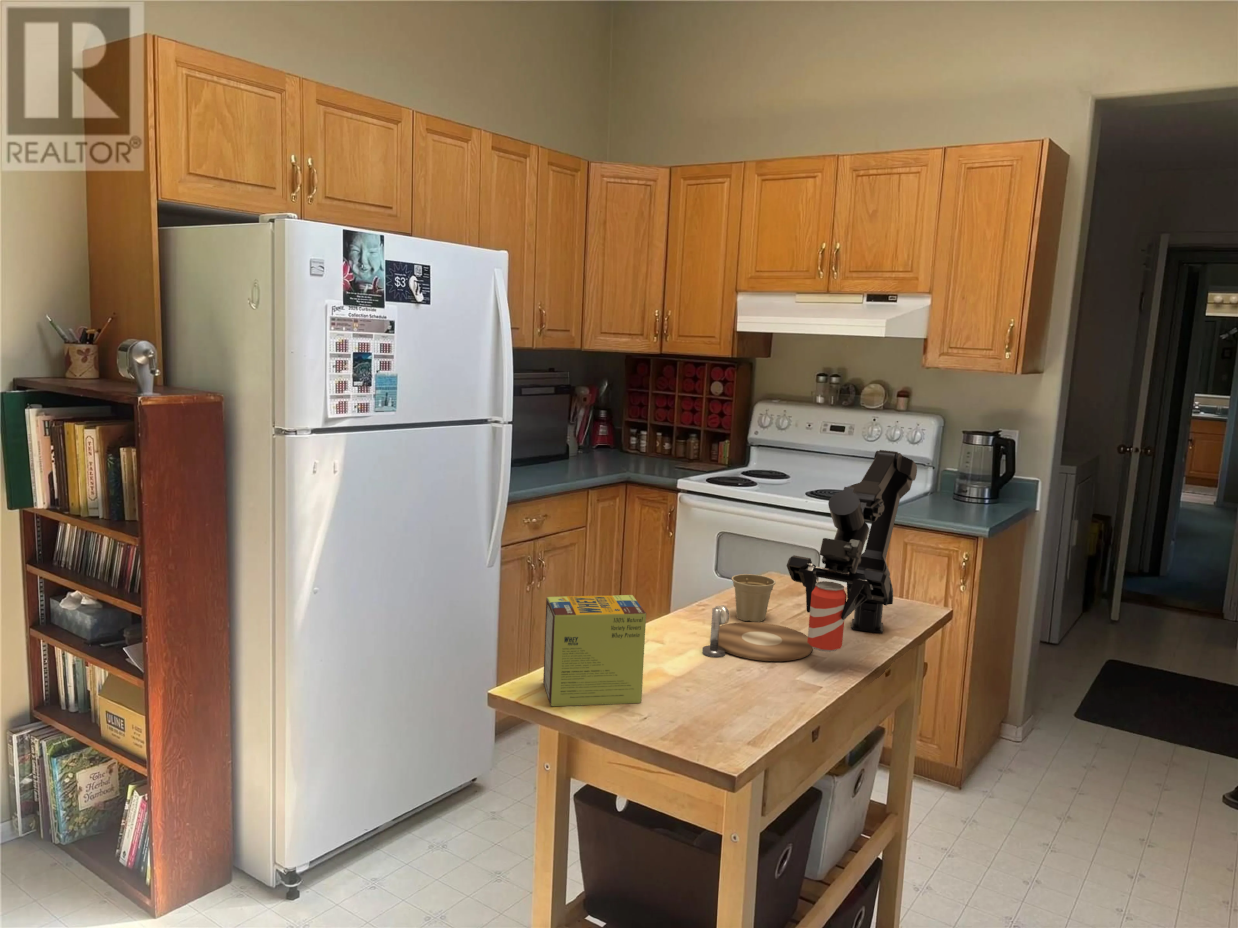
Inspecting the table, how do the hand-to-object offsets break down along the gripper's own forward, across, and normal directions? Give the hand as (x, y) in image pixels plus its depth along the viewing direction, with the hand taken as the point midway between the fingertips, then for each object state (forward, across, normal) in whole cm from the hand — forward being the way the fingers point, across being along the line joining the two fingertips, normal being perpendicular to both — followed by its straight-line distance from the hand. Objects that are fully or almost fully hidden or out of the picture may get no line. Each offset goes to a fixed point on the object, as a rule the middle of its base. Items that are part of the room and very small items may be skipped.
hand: (825, 614), depth 166 cm
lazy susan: (+3, -14, +12) cm, 19 cm away
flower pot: (-6, -22, +22) cm, 32 cm away
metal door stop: (+11, -20, +4) cm, 23 cm away
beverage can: (+4, 0, +6) cm, 7 cm away
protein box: (+32, -28, -18) cm, 46 cm away
